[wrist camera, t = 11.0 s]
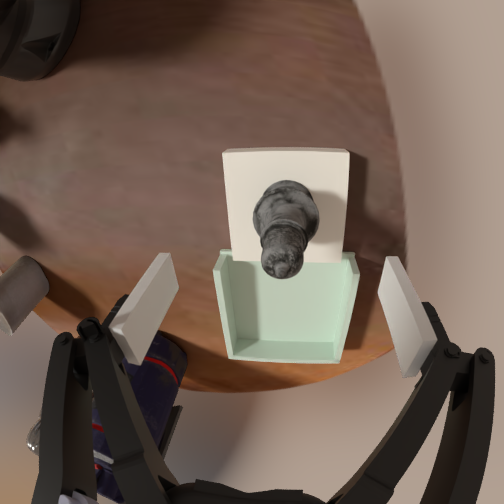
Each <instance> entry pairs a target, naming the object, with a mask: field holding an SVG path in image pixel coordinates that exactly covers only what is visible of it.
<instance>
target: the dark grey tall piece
mask: <svg viewBox="0 0 504 504" xmlns="http://www.w3.org/2000/svg"><path fill="white" fill-rule="evenodd" d="M319 222H320V218H319V211H318V209H317V206H316V204H315V203H314V201H313V198H312V195H311V193H310V192H309V190H308V189H307V188H306V187H305V186H303V185H302V184H301V183H298V182H296V181H291V180H282V181H278V182H276V183H273V184H272V185H270V186H269V187H268V188H267V189H266V190H265V192H264V193H263V196H262V197H261V198H260V199H259V201H258V202H257V203H256V206H255V208H254V211H253V224H254V228H255V230H256V232H257V234H258V235H259V237H260V243H261V247H262V249H263V250H262V254H261V264H262V268H263V269H264V271H265V272H266V273H267V274H268V275H270V276H271V277H273V278H276V279H288V278H291V277H293V276H295V275H297V274H298V273H299V272H300V270H301V268H302V266H303V262H304V252H305V250H306V248H307V246H308V242H309V241H310V240H311V239H312V238H313V237H314V236H315V234H316V232H317V230H318V227H319Z"/></svg>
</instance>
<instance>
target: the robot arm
mask: <svg viewBox="0 0 504 504" xmlns="http://www.w3.org/2000/svg"><path fill="white" fill-rule="evenodd" d="M79 16H80V2H79V0H0V76H4V77H7V78H11V79H14V80H18V81H33V80H38V79H41V78H42V77H44V76H46V75H47V74H48V73H49V72H51V71H52V70H53V69H54V68H55V66H56V65H57V64H58V63H59V62H60V60H61V59H62V57H63V56H64V54H65V53H66V51H67V49H68V47H69V45H70V43H71V41H72V39H73V37H74V34H75V32H76V29H77V25H78V21H79ZM178 289H179V286H178V282H177V278H176V274H175V271H174V267H173V263H172V258H171V254H170V253H159V254H158V256H157V257H156V258H155V260H154V261H153V262H152V264H151V265H150V267H149V268H148V269H147V271H146V272H145V274H144V275H143V276H142V278H141V279H140V281H139V282H138V283H137V285H136V286H135V288H134V289H133V291H132V292H131V294H130V295H126V294H125V295H124V296H123V297H121V298H120V299H119V300H118V301H117V303H116V304H115V306H114V307H113V308H112V310H111V312H110V313H109V314H108V316H107V317H106V319H105V320H104V322H103V323H102V325H100V323H99V321H98V319H97V318H95V317H89V318H86V319H84V320H82V321H81V322H80V323H79V325H78V326H77V332H78V334H79V335H80V337H81V338H74V337H73V336H72V334H71V333H69V332H63V333H61V334H59V335H58V336H57V337H56V338H55V340H54V343H53V347H52V352H51V356H50V361H49V367H48V372H47V378H46V384H45V390H44V397H43V404H42V414H41V425H40V441H39V474H38V478H37V482H36V486H35V490H34V494H33V498H32V503H31V504H98V503H97V484H96V474H95V464H94V452H93V434H92V390H93V394H94V398H95V402H96V406H97V410H98V414H99V417H100V421H101V424H102V428H103V431H104V434H105V437H106V440H107V443H108V446H109V449H110V452H111V455H112V457H113V463H112V464H111V469H112V472H113V475H114V477H115V480H116V482H117V485H118V487H119V489H120V492H121V494H122V496H123V498H124V500H125V502H126V504H386V503H387V502H388V501H389V500H390V498H391V497H392V495H393V493H394V488H395V486H396V485H397V483H398V482H399V480H400V479H401V477H402V476H403V475H404V473H405V472H406V470H407V469H408V467H409V466H410V464H411V462H412V461H413V459H414V458H415V456H416V454H417V453H418V451H419V450H420V448H421V446H422V445H423V443H424V441H425V439H426V437H427V436H428V434H429V432H430V430H431V428H432V426H433V424H434V422H435V420H436V418H437V416H438V414H439V412H440V410H441V408H442V406H443V404H444V401H445V399H446V397H447V395H448V392H449V391H451V394H450V401H449V406H448V412H447V417H446V422H445V426H444V431H443V435H442V439H441V443H440V446H439V450H438V453H437V457H436V460H435V463H434V467H433V470H432V473H431V476H430V479H429V481H428V484H427V487H426V489H425V492H424V494H423V497H422V499H421V502H420V504H476V501H477V497H478V494H479V491H480V487H481V483H482V480H483V476H484V471H485V467H486V462H487V457H488V451H489V445H490V440H491V432H492V424H493V413H494V397H495V359H494V356H493V354H492V352H491V351H489V350H488V349H486V348H478V349H477V350H476V352H475V353H474V354H470V353H464V352H461V349H460V348H459V347H458V346H457V345H456V344H454V343H451V342H450V341H449V338H448V336H447V334H446V331H445V329H444V327H443V325H442V323H441V322H440V319H439V317H438V314H437V312H436V310H435V308H434V307H433V306H432V305H431V304H430V303H429V302H421V301H420V299H419V297H418V295H417V293H416V291H415V289H414V287H413V285H412V283H411V281H410V279H409V277H408V275H407V273H406V271H405V269H404V267H403V266H402V264H401V262H400V260H399V258H398V256H386V260H385V264H384V269H383V273H382V277H381V281H380V285H379V289H378V295H379V298H380V301H381V304H382V307H383V310H384V313H385V317H386V320H387V323H388V326H389V329H390V333H391V336H392V340H393V343H394V347H395V350H396V354H397V357H398V361H399V365H400V369H401V373H402V377H403V378H406V377H413V376H416V375H417V374H418V372H419V370H421V373H422V377H421V378H420V380H419V381H418V383H417V384H416V385H415V389H414V391H413V392H412V394H411V396H410V398H409V399H408V401H407V403H406V404H405V406H404V407H403V409H402V411H401V412H400V414H399V415H398V417H397V418H396V420H395V422H394V423H393V425H392V426H391V427H390V429H389V430H388V432H387V433H386V435H385V436H384V437H383V439H382V440H381V442H380V443H379V444H378V446H377V447H376V448H375V450H374V451H373V452H372V454H371V455H370V456H369V457H368V459H367V460H366V461H365V462H364V464H363V465H362V466H361V467H360V468H359V470H358V471H357V472H356V473H355V474H354V475H353V477H352V478H351V479H350V480H349V481H348V482H347V483H346V484H345V485H344V486H343V487H342V488H341V489H340V490H339V491H338V492H337V493H336V494H335V495H334V496H333V497H332V498H331V499H330V500H329V501H328V502H327V503H325V502H323V501H322V500H320V499H319V498H316V497H314V496H312V495H309V494H305V493H303V490H282V489H275V490H269V491H262V492H254V493H245V492H242V491H239V490H237V489H234V488H231V487H228V486H226V485H223V484H220V483H214V482H209V481H204V480H198V479H196V481H195V483H186V484H181V485H179V483H178V481H177V480H176V478H175V477H174V476H173V474H172V473H171V472H170V470H169V469H168V468H167V466H166V464H165V462H164V460H163V458H162V456H161V454H160V452H159V450H158V448H157V446H156V444H155V442H154V440H153V438H152V435H151V433H150V431H149V429H148V427H147V424H146V422H145V420H144V417H143V415H142V413H141V410H140V408H139V405H138V403H137V400H136V397H135V395H134V392H133V390H132V387H131V384H130V381H129V378H128V376H127V373H126V370H125V367H124V364H123V363H122V360H123V358H124V356H125V358H126V359H127V361H128V363H131V364H136V365H141V363H142V361H143V359H144V357H145V355H146V353H147V351H148V349H149V347H150V345H151V342H152V340H153V338H154V336H155V334H156V332H157V330H158V328H159V326H160V324H161V322H162V320H163V318H164V316H165V314H166V312H167V310H168V308H169V306H170V304H171V302H172V300H173V299H174V297H175V295H176V293H177V291H178Z"/></svg>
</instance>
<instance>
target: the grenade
mask: <svg viewBox="0 0 504 504" xmlns="http://www.w3.org/2000/svg"><path fill="white" fill-rule="evenodd" d="M122 363H123V364H124V367H125V370H126V373H127V376H128V378H129V381H130V384H131V387H132V390H133V392H134V395H135V397H136V400H137V403H138V405H139V408H140V410H141V413H142V415H143V417H144V420H145V422H146V424H147V427H148V429H149V431H150V433H151V435H152V438H153V440H154V442H155V444H156V446H157V448H158V450H159V452H160V454H161V456H162V458H163V460H164V457H165V455H166V452H167V449H168V446H169V444H170V441H171V438H172V435H173V433H174V430H175V427H176V424H177V422H178V419H179V416H180V413H181V411H182V408H183V407H182V406H180V405H179V406H174V407H172V406H173V404H174V401H175V398H176V395H177V392H178V387H180V384H181V381H182V379H183V376H184V373H185V371H186V368H187V365H188V364H187V355H186V353H184V352H182V351H181V349H180V348H179V347H178V346H177V345H175V344H174V343H173V342H171V341H170V340H168V339H166V338H165V337H162V334H161V332H160V331H157V332H156V334H155V336H154V338H153V340H152V342H151V345H150V347H149V349H148V351H147V353H146V355H145V357H144V359H143V361H142V363H141V365H136V364H131V363H128V361H127V359H126V358H125V356H124V358H123V360H122ZM92 434H93V452H94V464H95V474H96V484H97V493H98V494H100V495H102V496H104V497H106V498H108V499H110V500H112V501H114V502H116V503H118V504H126V502H125V500H124V498H123V496H122V494H121V492H120V489H119V487H118V485H117V482H116V480H115V477H114V475H113V472H112V469H111V464H112V463H113V457H112V455H111V452H110V449H109V446H108V443H107V440H106V437H105V434H104V431H103V428H102V424H101V421H100V417H99V414H98V410H97V406H96V402H95V398H94V399H93V401H92Z"/></svg>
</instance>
